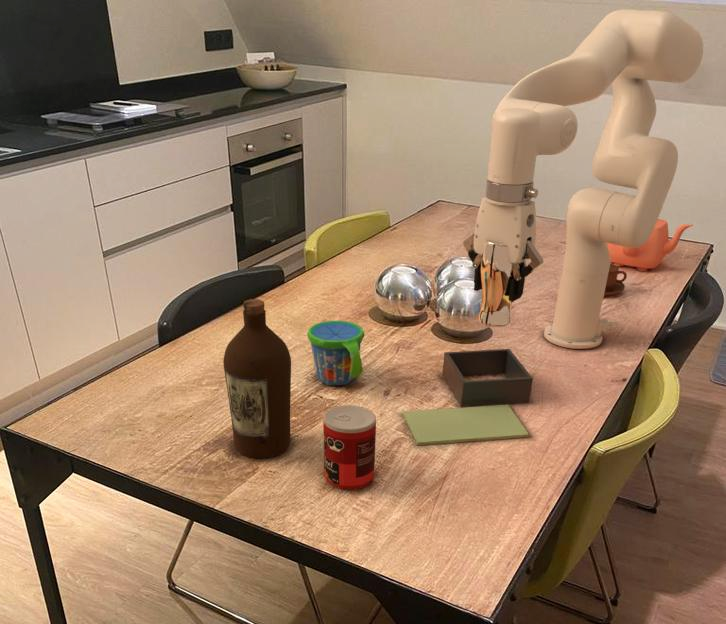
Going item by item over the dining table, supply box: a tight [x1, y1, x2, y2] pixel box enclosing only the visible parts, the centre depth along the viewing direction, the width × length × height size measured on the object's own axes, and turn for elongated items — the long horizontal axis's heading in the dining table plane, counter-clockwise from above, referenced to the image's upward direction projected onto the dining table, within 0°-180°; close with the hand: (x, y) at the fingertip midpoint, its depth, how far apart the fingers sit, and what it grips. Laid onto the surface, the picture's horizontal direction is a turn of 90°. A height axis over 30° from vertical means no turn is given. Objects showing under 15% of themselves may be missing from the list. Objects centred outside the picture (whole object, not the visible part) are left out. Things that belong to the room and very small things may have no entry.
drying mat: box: [402, 404, 530, 446], centre depth 135 cm, size 20×11×1 cm, turn 100°
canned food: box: [322, 404, 377, 491], centre depth 118 cm, size 8×8×11 cm
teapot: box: [606, 218, 694, 272], centre depth 209 cm, size 18×18×14 cm
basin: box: [442, 348, 534, 408], centre depth 146 cm, size 13×13×5 cm
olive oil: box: [223, 298, 292, 459], centre depth 122 cm, size 11×11×25 cm
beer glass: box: [477, 239, 520, 328], centre depth 136 cm, size 7×7×15 cm
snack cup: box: [306, 320, 365, 386], centre depth 147 cm, size 16×10×10 cm
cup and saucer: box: [604, 263, 628, 296], centre depth 193 cm, size 12×12×6 cm
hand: (497, 293), depth 137 cm, fingers closed on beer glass, 6 cm apart
